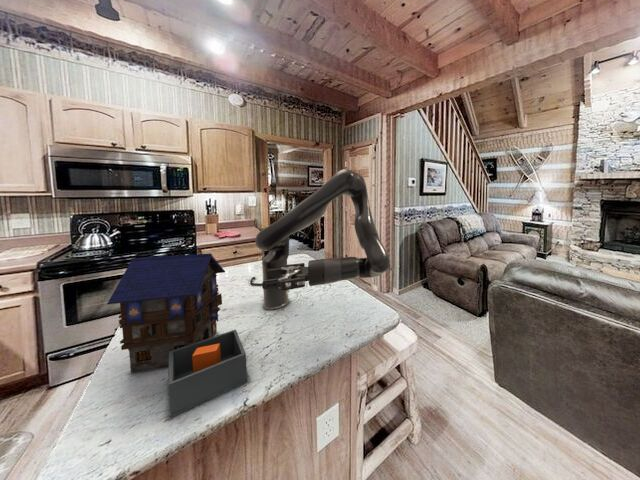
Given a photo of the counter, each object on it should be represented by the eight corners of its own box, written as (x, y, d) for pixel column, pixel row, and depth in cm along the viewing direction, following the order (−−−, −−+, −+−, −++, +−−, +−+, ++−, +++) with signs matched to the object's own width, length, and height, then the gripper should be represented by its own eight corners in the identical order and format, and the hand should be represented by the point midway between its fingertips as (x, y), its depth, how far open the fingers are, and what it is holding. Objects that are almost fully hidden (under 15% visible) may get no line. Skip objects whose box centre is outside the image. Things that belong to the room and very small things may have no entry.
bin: (171, 379, 66) (168, 351, 66) (237, 353, 76) (235, 329, 76) (170, 417, 56) (168, 385, 55) (247, 381, 66) (245, 353, 65)
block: (198, 376, 66) (196, 347, 66) (221, 370, 68) (220, 343, 68) (194, 385, 64) (192, 355, 63) (218, 379, 66) (216, 350, 65)
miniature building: (207, 366, 71) (200, 263, 69) (111, 382, 65) (100, 270, 63) (233, 328, 89) (229, 245, 87) (160, 338, 83) (153, 249, 81)
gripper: (323, 253, 83) (267, 258, 77) (327, 266, 70) (260, 275, 64) (323, 274, 84) (268, 282, 77) (327, 292, 71) (261, 303, 64)
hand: (264, 279), depth 71 cm, fingers open, 8 cm apart
